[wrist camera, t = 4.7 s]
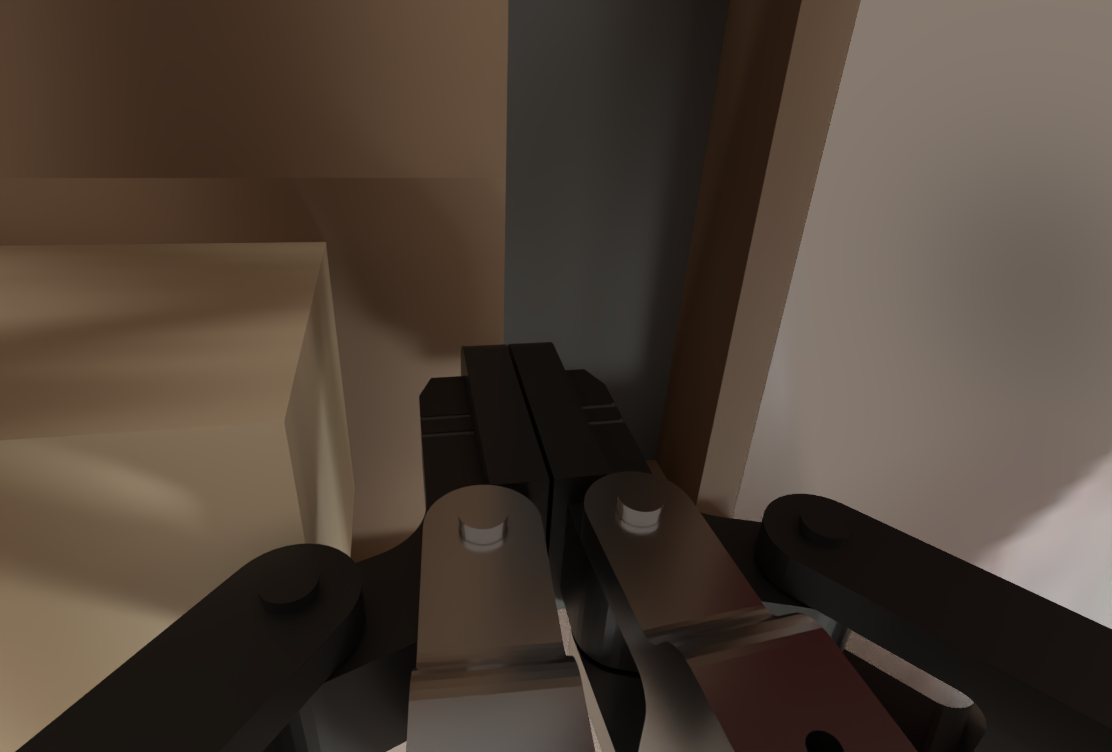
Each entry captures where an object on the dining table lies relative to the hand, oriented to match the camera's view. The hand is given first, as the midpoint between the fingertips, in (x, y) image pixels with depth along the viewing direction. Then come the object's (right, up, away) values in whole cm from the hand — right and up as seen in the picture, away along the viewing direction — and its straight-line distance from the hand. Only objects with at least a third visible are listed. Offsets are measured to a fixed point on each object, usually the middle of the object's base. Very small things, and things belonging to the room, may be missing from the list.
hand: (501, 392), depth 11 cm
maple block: (-5, 0, 0) cm, 5 cm away
